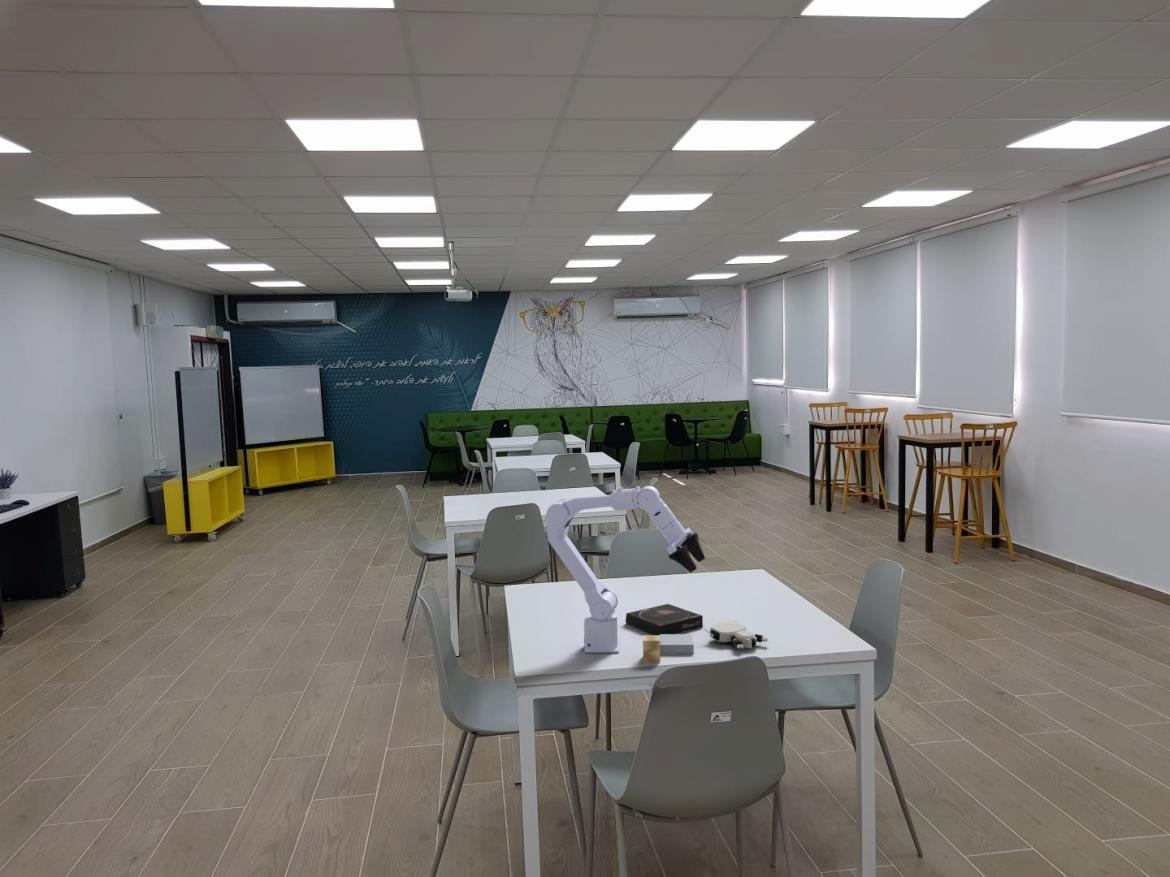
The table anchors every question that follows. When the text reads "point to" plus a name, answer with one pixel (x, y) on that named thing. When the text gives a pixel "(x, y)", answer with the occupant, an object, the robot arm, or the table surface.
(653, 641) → the oak block
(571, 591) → the table surface
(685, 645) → the slate base
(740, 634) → the robot toy
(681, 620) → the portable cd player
